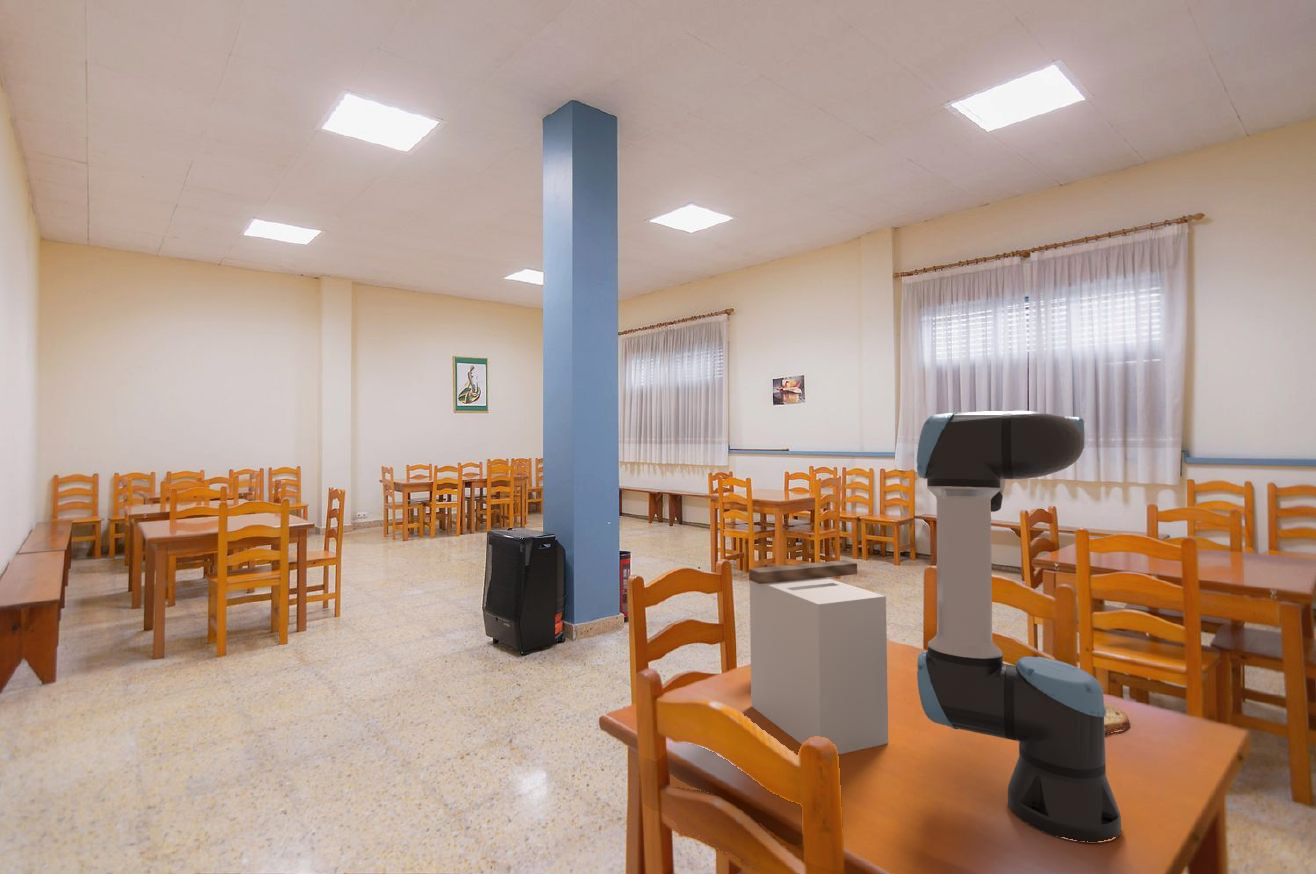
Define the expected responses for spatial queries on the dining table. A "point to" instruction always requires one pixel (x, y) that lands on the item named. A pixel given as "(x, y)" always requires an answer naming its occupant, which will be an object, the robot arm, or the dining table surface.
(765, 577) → the cover slat
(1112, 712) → the slice of bread
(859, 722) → the tall box
